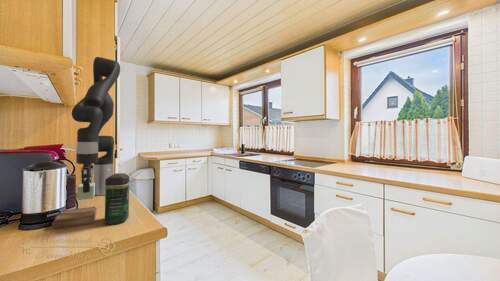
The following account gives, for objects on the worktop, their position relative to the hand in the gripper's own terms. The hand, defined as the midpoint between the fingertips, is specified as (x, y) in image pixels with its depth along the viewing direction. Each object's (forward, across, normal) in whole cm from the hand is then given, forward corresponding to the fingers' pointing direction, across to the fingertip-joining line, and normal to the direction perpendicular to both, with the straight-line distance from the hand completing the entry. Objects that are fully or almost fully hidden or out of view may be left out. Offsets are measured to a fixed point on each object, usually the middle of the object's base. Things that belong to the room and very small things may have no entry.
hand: (87, 190), depth 91 cm
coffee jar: (+9, +17, +12) cm, 22 cm away
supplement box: (+10, -8, -10) cm, 16 cm away
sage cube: (+3, 0, 0) cm, 3 cm away
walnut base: (+9, +10, -2) cm, 14 cm away
